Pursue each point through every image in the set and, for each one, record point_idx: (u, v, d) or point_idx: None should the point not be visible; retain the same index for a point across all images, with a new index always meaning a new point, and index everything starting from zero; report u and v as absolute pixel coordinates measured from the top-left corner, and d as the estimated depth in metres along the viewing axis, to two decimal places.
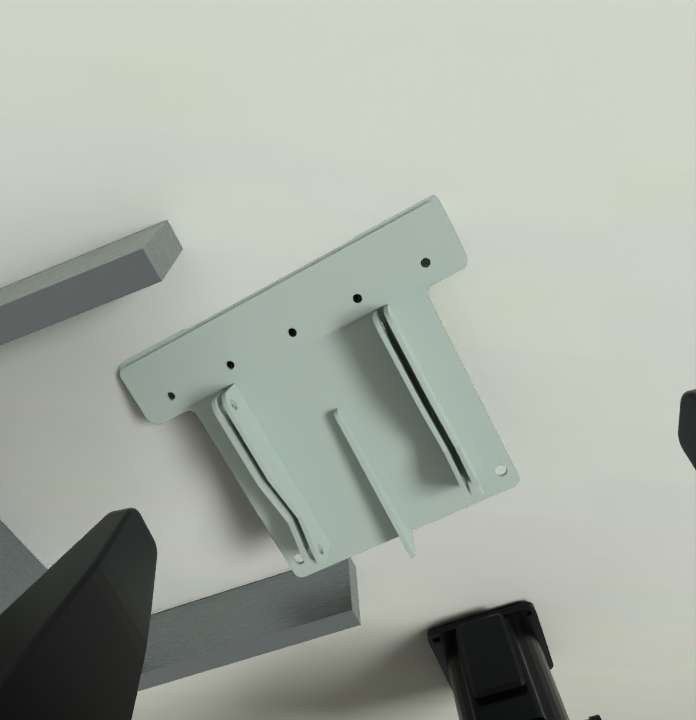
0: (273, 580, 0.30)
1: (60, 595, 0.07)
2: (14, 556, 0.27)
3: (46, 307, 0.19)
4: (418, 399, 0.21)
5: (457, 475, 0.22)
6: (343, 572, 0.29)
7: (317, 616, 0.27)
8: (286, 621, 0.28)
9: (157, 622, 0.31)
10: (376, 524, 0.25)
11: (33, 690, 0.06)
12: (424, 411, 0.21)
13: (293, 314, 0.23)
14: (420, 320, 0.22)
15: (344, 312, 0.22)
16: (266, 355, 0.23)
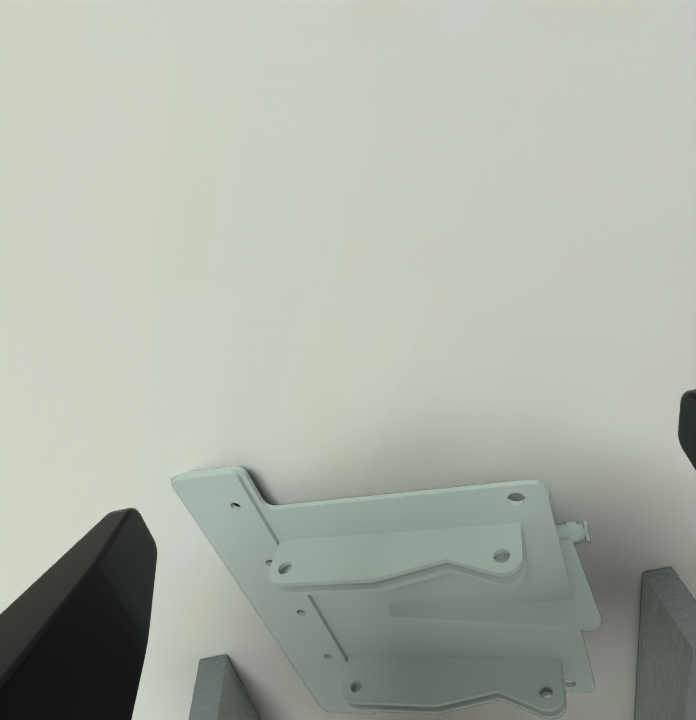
0: (642, 642, 0.25)
1: (60, 595, 0.07)
2: None
3: None
4: (367, 588, 0.18)
5: (482, 579, 0.17)
6: (657, 601, 0.22)
7: (686, 673, 0.21)
8: (679, 692, 0.22)
9: None
10: None
11: (33, 690, 0.06)
12: (384, 587, 0.18)
13: (283, 606, 0.22)
14: (300, 521, 0.19)
15: None
16: (321, 634, 0.23)
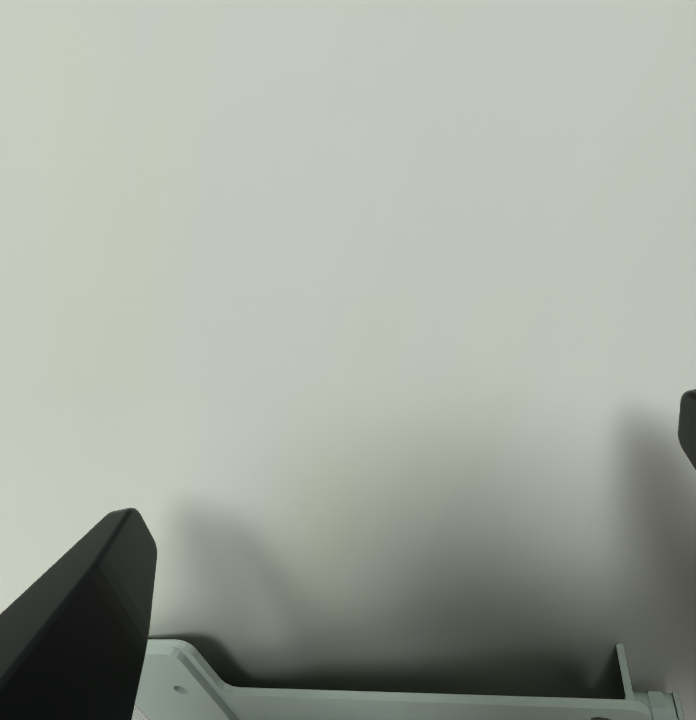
0: None
1: (60, 595, 0.07)
2: None
3: None
4: None
5: None
6: None
7: None
8: None
9: None
10: None
11: (33, 690, 0.06)
12: None
13: None
14: (273, 711, 0.13)
15: None
16: None
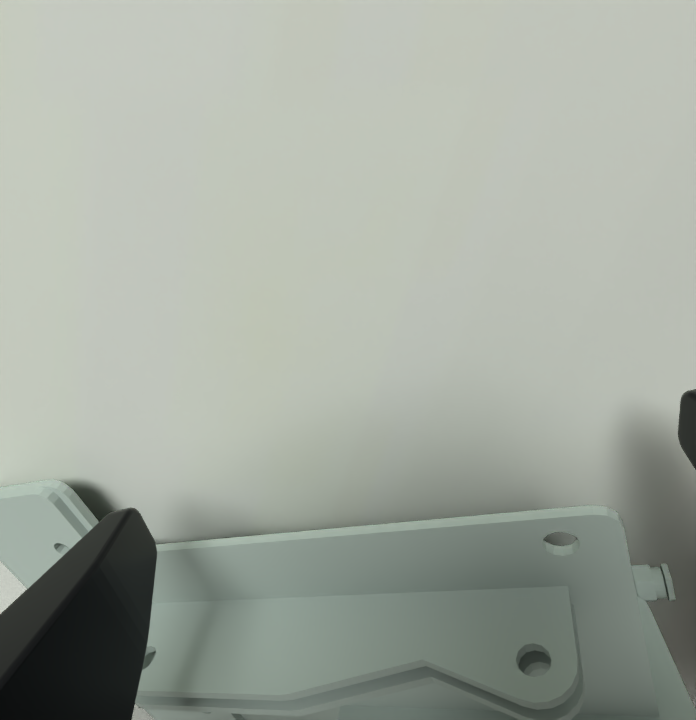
0: None
1: (60, 595, 0.07)
2: None
3: None
4: (279, 708, 0.09)
5: (494, 704, 0.08)
6: None
7: None
8: None
9: None
10: None
11: (33, 690, 0.06)
12: (308, 708, 0.09)
13: None
14: (174, 574, 0.11)
15: None
16: None
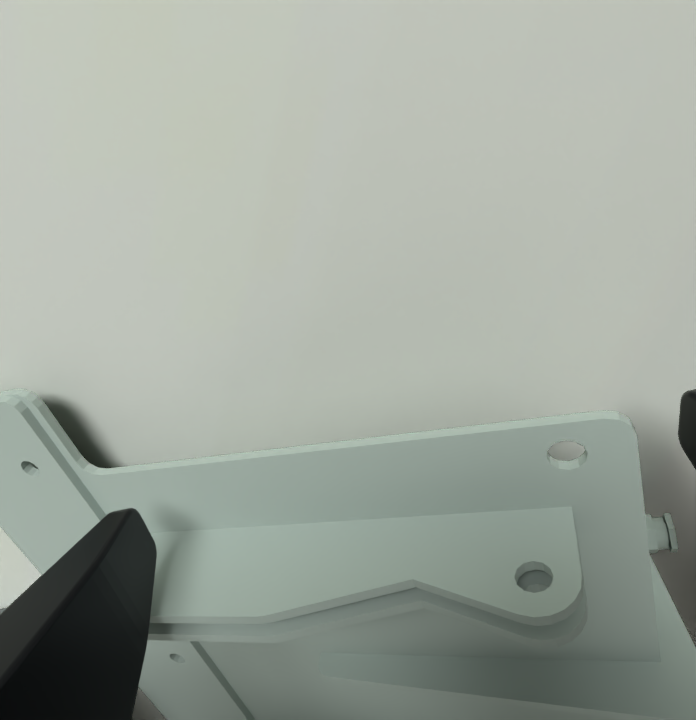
0: None
1: (60, 595, 0.07)
2: None
3: None
4: (255, 634, 0.09)
5: (489, 626, 0.08)
6: None
7: None
8: None
9: None
10: None
11: (33, 690, 0.06)
12: (287, 634, 0.09)
13: (147, 647, 0.13)
14: (149, 499, 0.10)
15: None
16: (215, 692, 0.14)
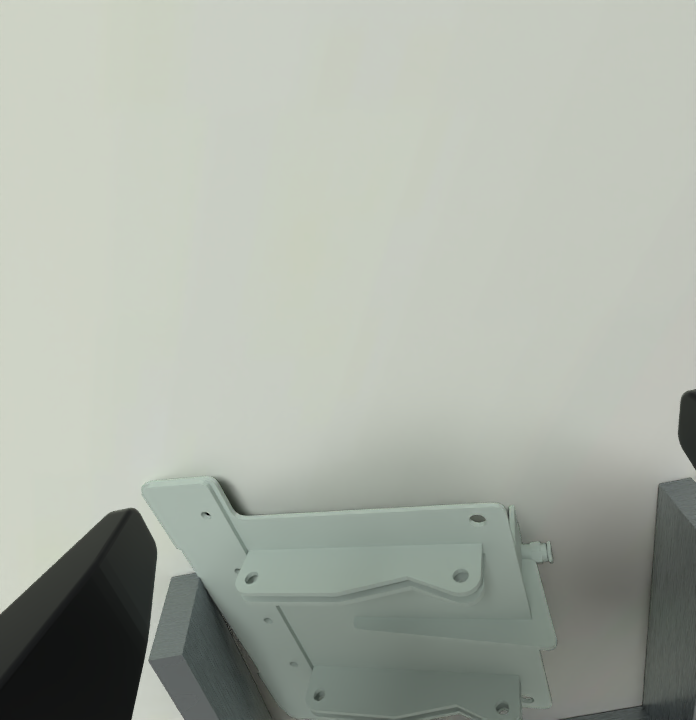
0: (656, 567, 0.23)
1: (60, 595, 0.07)
2: None
3: None
4: (330, 602, 0.18)
5: (441, 597, 0.17)
6: (676, 512, 0.20)
7: None
8: None
9: (652, 675, 0.26)
10: None
11: (33, 690, 0.06)
12: (346, 601, 0.18)
13: (250, 614, 0.23)
14: (268, 532, 0.20)
15: None
16: (288, 642, 0.23)
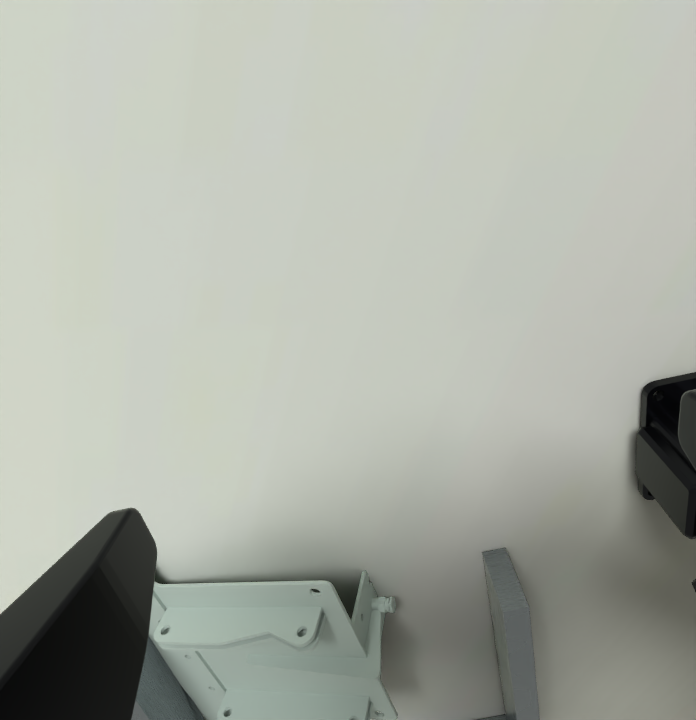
0: (491, 611, 0.30)
1: (60, 595, 0.07)
2: None
3: None
4: (217, 648, 0.25)
5: (289, 646, 0.24)
6: (489, 575, 0.28)
7: (504, 632, 0.26)
8: (506, 648, 0.27)
9: (504, 691, 0.33)
10: None
11: (33, 690, 0.06)
12: (228, 648, 0.25)
13: (174, 652, 0.30)
14: (178, 596, 0.27)
15: None
16: (204, 672, 0.30)
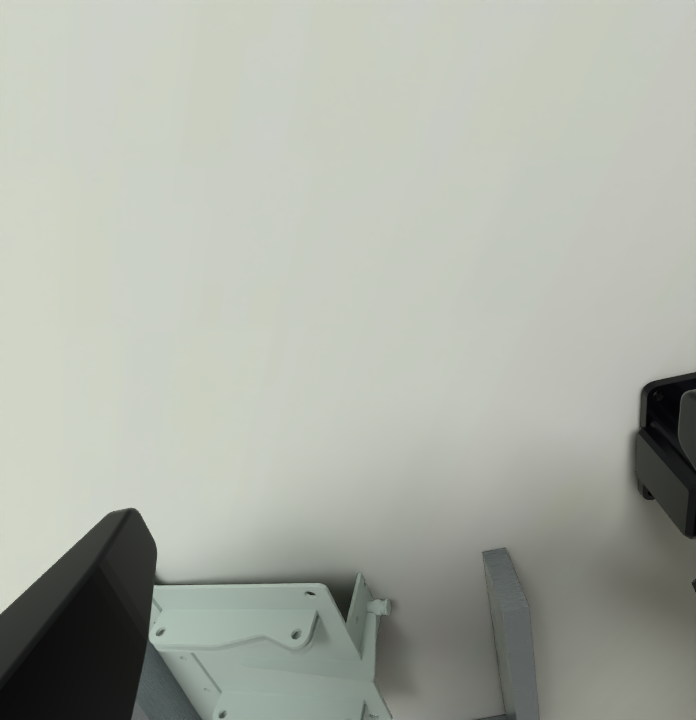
0: (491, 611, 0.30)
1: (60, 595, 0.07)
2: None
3: None
4: (212, 650, 0.26)
5: (284, 649, 0.25)
6: (489, 575, 0.28)
7: (504, 632, 0.26)
8: (506, 648, 0.27)
9: (504, 691, 0.33)
10: None
11: (33, 690, 0.06)
12: (223, 650, 0.25)
13: (170, 653, 0.30)
14: (174, 597, 0.27)
15: None
16: (199, 674, 0.30)
